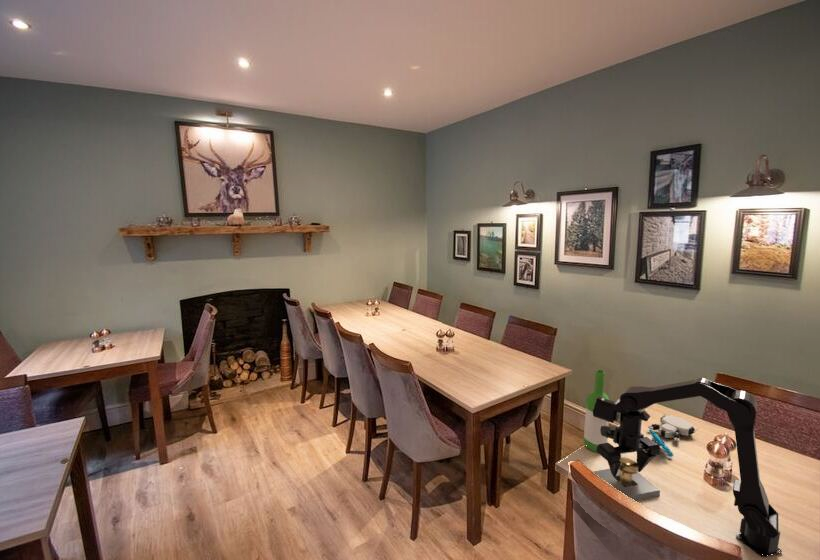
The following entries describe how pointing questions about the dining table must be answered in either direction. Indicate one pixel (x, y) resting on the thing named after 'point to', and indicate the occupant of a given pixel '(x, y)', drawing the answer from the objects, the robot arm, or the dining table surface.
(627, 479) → the door knob
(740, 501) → the robot arm
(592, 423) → the wine bottle
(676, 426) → the robot toy
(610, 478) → the housing plate
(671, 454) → the blue plastic angular piece
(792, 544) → the dining table surface
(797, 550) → the dining table surface
